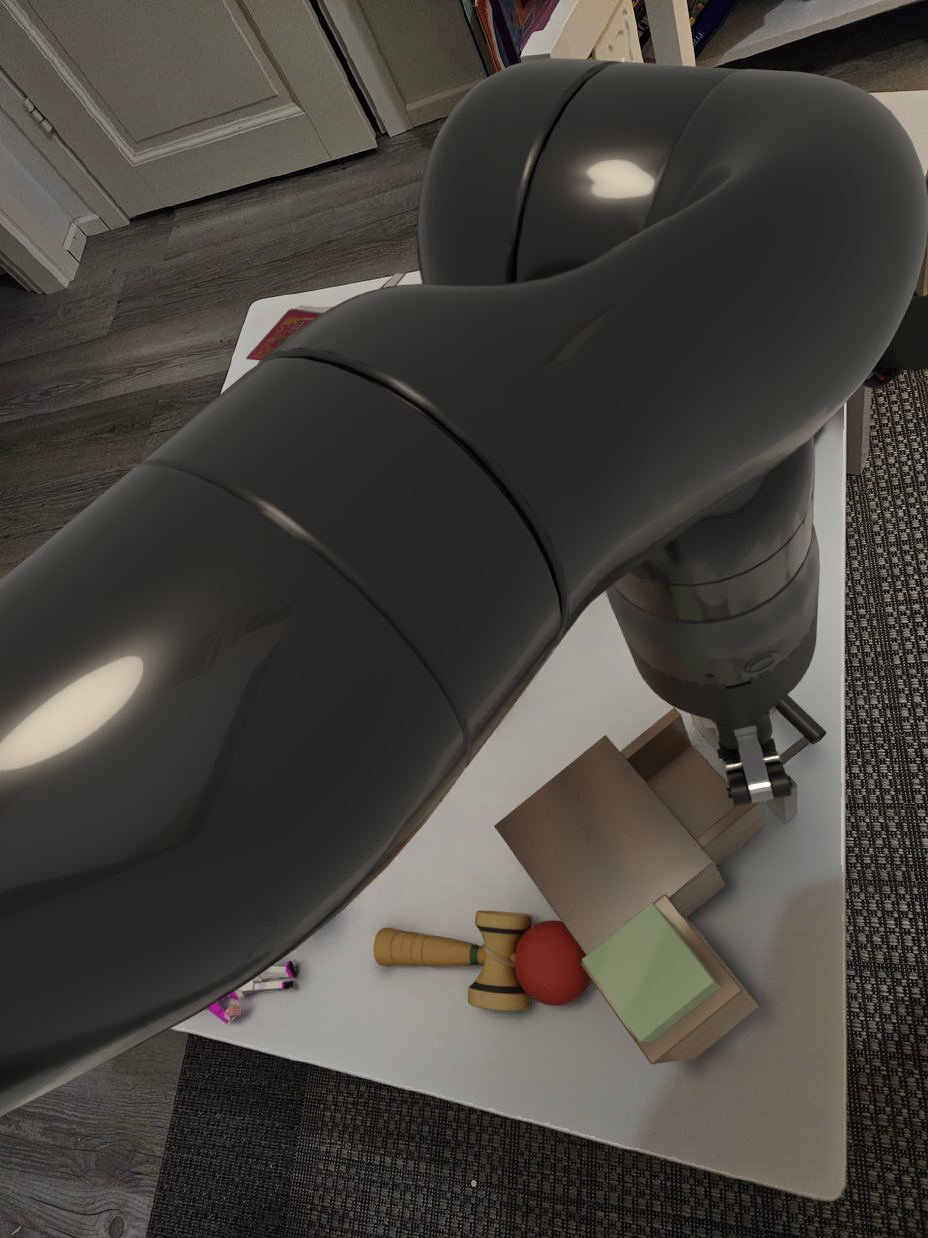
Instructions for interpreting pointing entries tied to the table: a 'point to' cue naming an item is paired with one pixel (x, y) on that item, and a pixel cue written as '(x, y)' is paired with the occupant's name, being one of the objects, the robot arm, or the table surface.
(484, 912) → the kendama
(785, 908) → the table surface
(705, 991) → the block
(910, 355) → the toy
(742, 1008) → the stand
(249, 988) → the character figurine
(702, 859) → the cabinet
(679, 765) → the drawer
